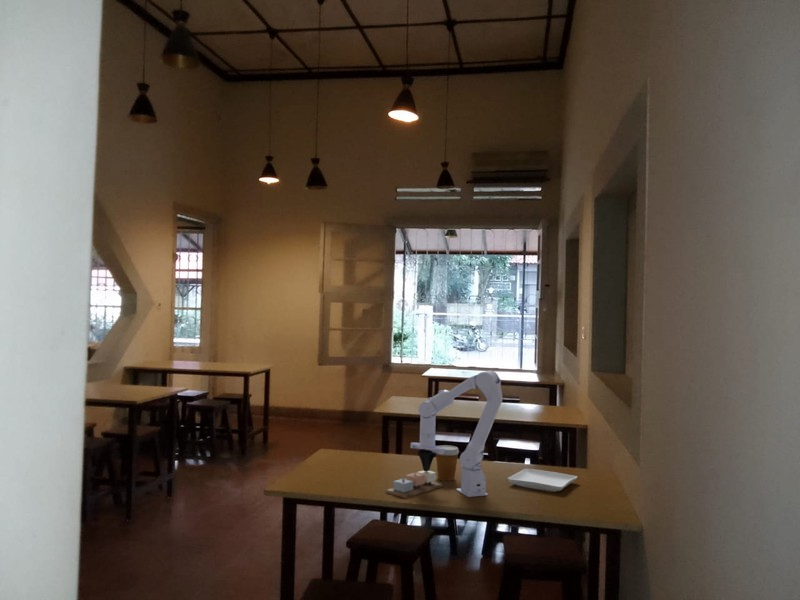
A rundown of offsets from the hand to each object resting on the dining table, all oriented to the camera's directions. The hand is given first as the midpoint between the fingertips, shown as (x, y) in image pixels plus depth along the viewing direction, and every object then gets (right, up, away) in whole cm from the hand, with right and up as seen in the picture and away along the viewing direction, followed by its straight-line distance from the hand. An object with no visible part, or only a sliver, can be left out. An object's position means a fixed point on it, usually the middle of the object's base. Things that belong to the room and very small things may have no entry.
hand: (426, 470), depth 233 cm
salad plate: (+45, -8, +7) cm, 46 cm away
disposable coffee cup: (+8, -7, +12) cm, 16 cm away
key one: (0, -4, 0) cm, 4 cm away
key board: (-4, -6, -5) cm, 9 cm away
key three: (-9, -4, -10) cm, 14 cm away
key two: (-4, -3, -5) cm, 7 cm away
